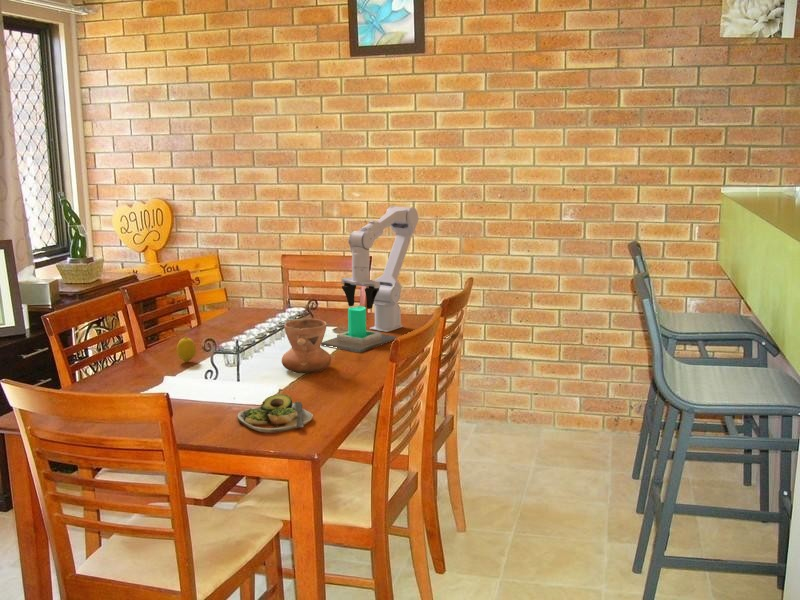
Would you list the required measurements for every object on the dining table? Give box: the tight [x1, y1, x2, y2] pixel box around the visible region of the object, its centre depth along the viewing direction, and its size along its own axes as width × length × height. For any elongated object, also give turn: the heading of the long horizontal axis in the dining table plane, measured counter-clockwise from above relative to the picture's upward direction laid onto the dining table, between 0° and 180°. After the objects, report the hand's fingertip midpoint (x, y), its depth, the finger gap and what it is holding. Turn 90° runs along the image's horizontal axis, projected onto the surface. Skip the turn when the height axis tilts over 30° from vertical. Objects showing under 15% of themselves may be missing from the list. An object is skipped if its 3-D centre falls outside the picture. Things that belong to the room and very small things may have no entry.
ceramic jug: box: [281, 317, 332, 374], centre depth 250 cm, size 18×14×14 cm
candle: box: [347, 305, 367, 338], centre depth 281 cm, size 6×6×12 cm
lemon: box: [176, 336, 197, 363], centre depth 258 cm, size 6×6×8 cm
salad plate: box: [236, 393, 314, 434], centre depth 208 cm, size 19×18×5 cm
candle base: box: [320, 329, 398, 354], centre depth 281 cm, size 20×16×3 cm
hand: (360, 307), depth 286 cm, fingers open, 7 cm apart
